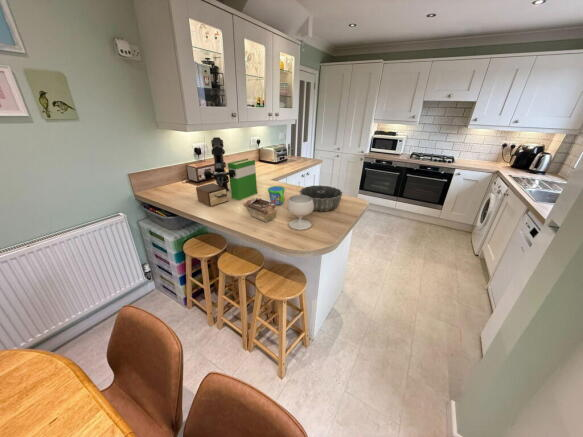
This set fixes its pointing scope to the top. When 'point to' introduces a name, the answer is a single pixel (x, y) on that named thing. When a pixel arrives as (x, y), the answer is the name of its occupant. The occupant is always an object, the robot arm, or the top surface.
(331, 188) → the bundt pan
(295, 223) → the chalice
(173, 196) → the top surface
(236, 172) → the green cereal box
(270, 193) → the snack cup
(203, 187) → the cabinet
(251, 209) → the lined basket
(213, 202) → the drawer
